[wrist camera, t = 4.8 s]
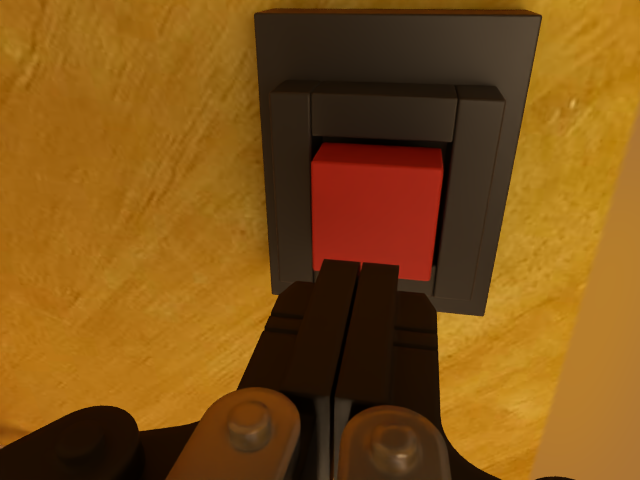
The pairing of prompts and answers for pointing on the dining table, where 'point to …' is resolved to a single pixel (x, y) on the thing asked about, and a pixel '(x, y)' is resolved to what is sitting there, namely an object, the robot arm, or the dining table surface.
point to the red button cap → (376, 205)
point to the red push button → (396, 123)
